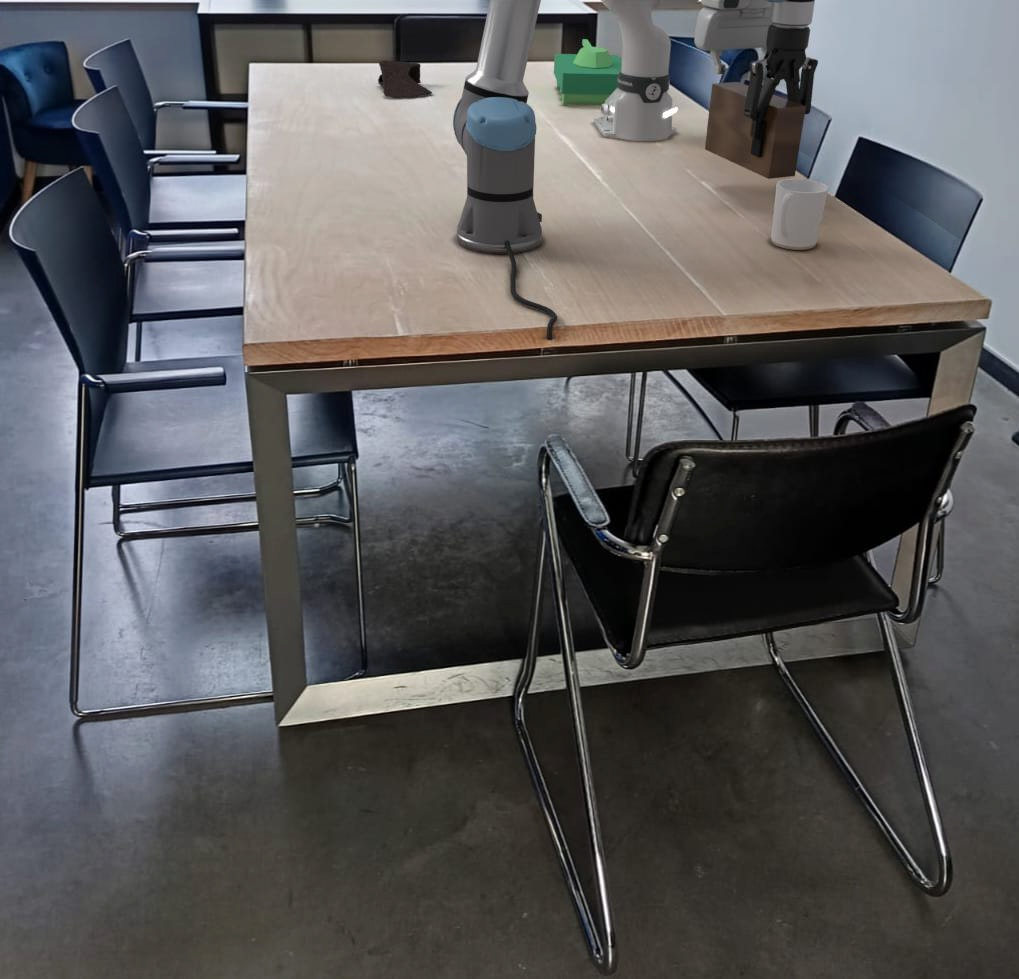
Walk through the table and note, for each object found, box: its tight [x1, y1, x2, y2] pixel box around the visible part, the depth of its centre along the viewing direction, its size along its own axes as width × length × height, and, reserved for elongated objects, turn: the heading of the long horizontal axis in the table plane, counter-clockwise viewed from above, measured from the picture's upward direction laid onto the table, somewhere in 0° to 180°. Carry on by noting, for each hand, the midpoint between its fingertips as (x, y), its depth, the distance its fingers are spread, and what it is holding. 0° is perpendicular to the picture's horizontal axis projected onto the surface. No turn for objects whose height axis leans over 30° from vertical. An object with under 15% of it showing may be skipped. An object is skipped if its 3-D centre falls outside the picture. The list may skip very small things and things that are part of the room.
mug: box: [770, 178, 829, 251], centre depth 194 cm, size 11×9×10 cm
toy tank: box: [553, 38, 622, 106], centre depth 299 cm, size 18×12×35 cm
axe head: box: [377, 59, 433, 99], centre depth 299 cm, size 18×8×15 cm
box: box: [704, 81, 806, 180], centre depth 214 cm, size 23×6×13 cm, turn 23°
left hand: (771, 153), depth 210 cm, fingers closed on box, 6 cm apart
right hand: (739, 72), depth 215 cm, fingers open, 8 cm apart
